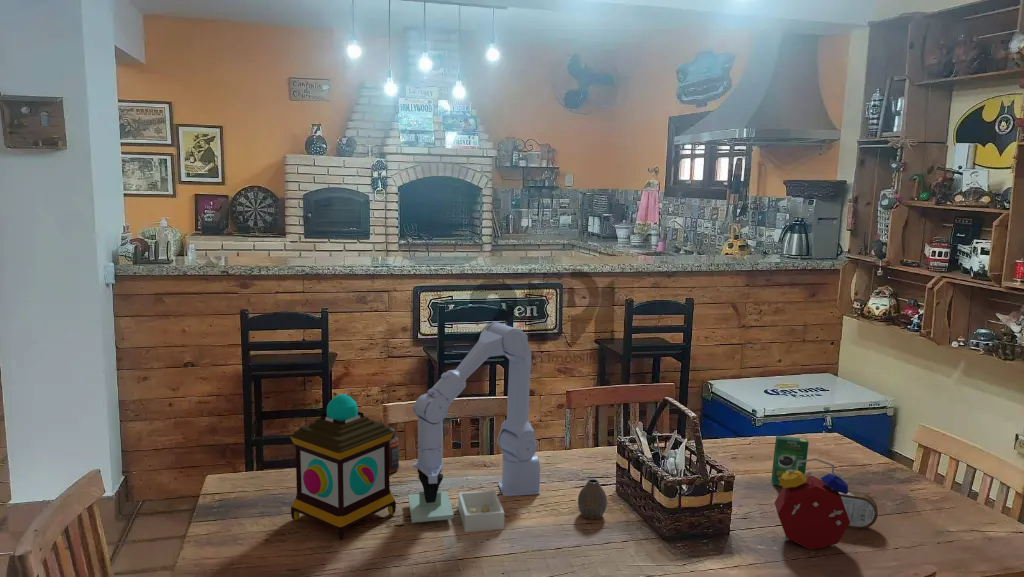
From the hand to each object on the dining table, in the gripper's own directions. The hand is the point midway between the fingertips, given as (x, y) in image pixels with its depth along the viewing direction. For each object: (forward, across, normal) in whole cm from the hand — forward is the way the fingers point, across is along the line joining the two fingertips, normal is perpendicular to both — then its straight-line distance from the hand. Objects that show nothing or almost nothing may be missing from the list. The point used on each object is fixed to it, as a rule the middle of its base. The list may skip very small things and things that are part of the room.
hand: (430, 500), depth 171 cm
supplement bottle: (+4, -28, -9) cm, 30 cm away
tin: (+4, +21, +95) cm, 97 cm away
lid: (+3, 0, 0) cm, 3 cm away
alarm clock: (+4, +29, +81) cm, 86 cm away
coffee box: (+4, -1, +95) cm, 95 cm away
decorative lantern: (+4, -2, -20) cm, 20 cm away
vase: (+4, +7, +38) cm, 39 cm away
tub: (+4, +4, +12) cm, 13 cm away
